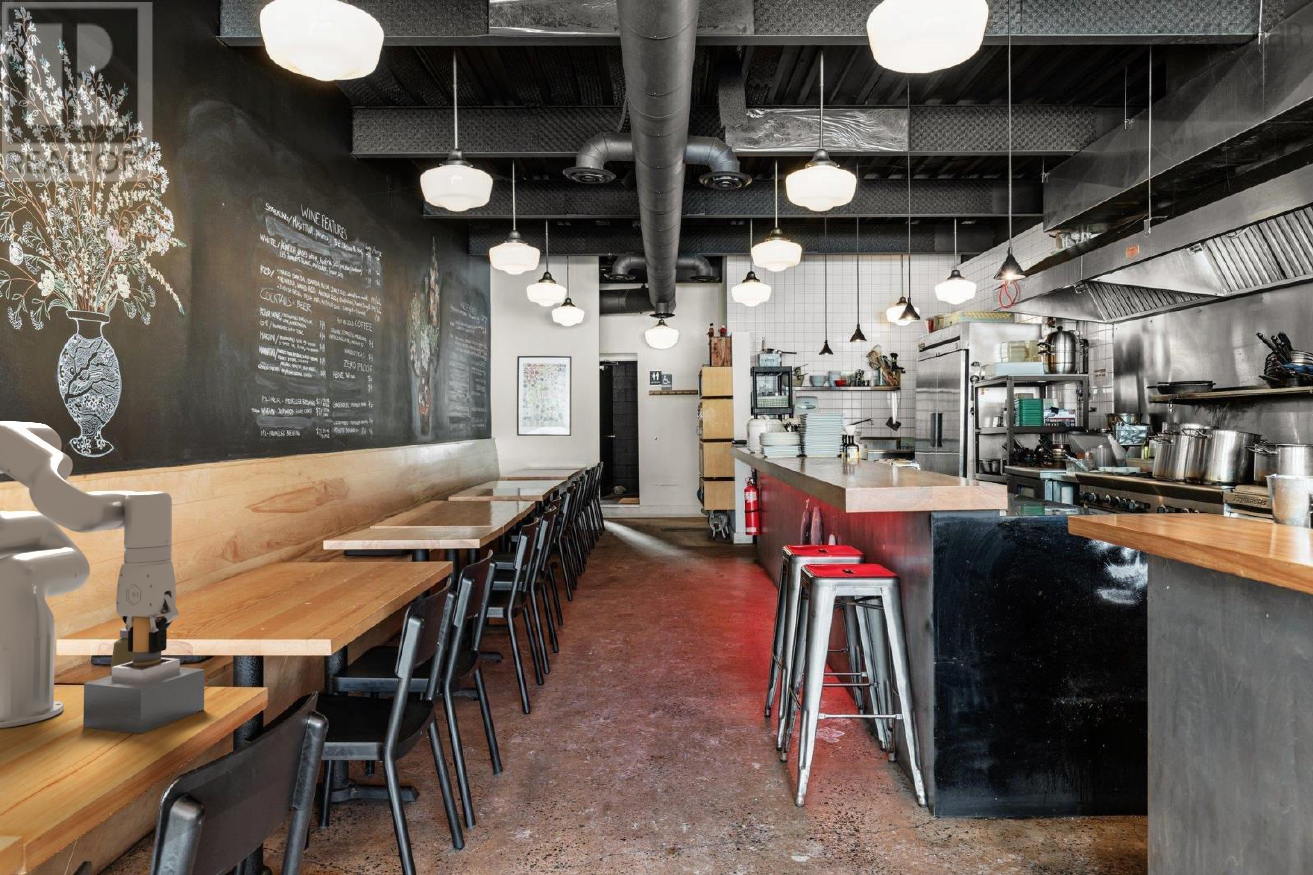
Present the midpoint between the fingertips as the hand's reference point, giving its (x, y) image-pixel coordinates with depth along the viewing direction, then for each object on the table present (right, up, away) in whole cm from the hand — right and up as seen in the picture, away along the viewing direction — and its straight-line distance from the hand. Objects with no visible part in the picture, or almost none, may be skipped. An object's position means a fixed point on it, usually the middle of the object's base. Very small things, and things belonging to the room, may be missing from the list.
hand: (147, 649), depth 138 cm
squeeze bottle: (-12, -14, +12) cm, 22 cm away
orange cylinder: (0, -2, 0) cm, 2 cm away
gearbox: (0, -13, 0) cm, 13 cm away
